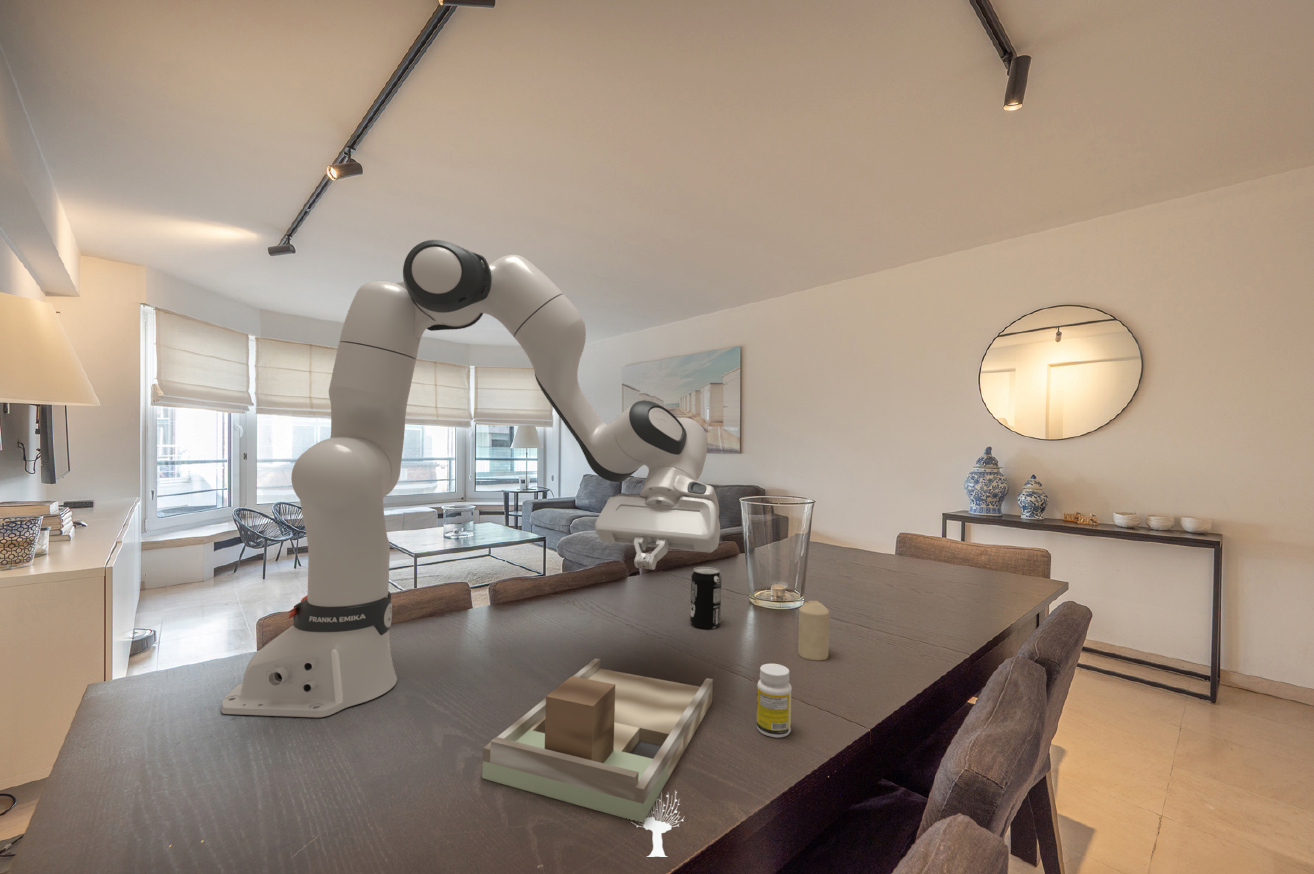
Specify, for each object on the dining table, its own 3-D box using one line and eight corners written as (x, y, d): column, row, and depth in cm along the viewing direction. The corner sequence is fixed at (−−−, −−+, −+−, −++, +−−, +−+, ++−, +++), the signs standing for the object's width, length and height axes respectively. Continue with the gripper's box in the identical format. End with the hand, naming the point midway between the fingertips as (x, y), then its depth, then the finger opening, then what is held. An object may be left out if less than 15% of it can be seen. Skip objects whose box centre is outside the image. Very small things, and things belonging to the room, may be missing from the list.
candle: (829, 662, 101) (831, 607, 101) (798, 659, 102) (800, 605, 102) (826, 651, 107) (827, 599, 107) (797, 648, 108) (798, 597, 108)
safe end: (521, 743, 71) (522, 727, 72) (667, 779, 65) (668, 762, 65) (482, 778, 64) (482, 760, 64) (642, 823, 57) (643, 803, 57)
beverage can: (685, 621, 123) (687, 567, 123) (713, 619, 125) (714, 565, 125) (696, 630, 116) (698, 574, 116) (725, 628, 118) (726, 572, 118)
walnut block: (569, 740, 69) (571, 675, 69) (613, 750, 67) (615, 684, 67) (544, 766, 63) (546, 696, 63) (591, 778, 61) (593, 706, 61)
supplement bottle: (766, 717, 80) (767, 659, 80) (796, 728, 77) (798, 668, 77) (749, 730, 76) (751, 669, 76) (781, 742, 73) (782, 679, 74)
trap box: (594, 679, 91) (595, 652, 91) (712, 702, 84) (712, 672, 84) (482, 778, 64) (483, 739, 64) (642, 823, 57) (643, 779, 57)
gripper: (606, 480, 94) (576, 547, 85) (723, 487, 87) (704, 561, 78) (616, 504, 98) (588, 570, 89) (728, 513, 91) (711, 585, 82)
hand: (643, 566), depth 83 cm, fingers closed
